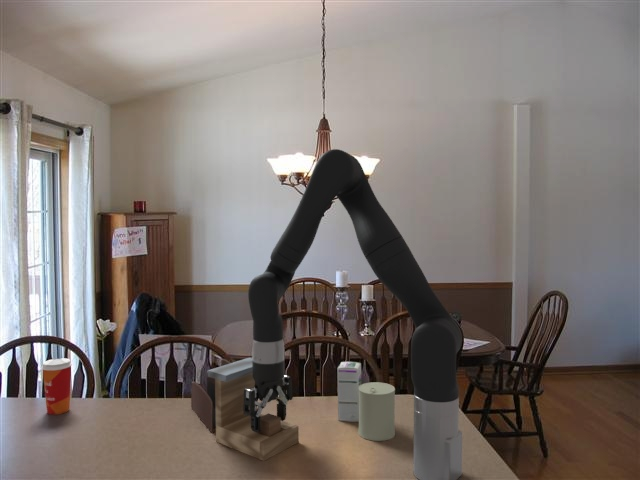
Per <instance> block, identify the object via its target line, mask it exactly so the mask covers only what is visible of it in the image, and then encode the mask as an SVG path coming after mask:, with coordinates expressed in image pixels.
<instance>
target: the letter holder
mask: <svg viewBox="0 0 640 480" xmlns="http://www.w3.org/2000/svg"><path fill="white" fill-rule="evenodd" d="M230 363H232V362H231V361H229V360H228V359H225V358H221V361H220V366H223V365H227V364H230ZM190 389H191V390H190V391H191V392H190V393H191V396H190V397H191V398H190V401H191V402H190V407H191V409H192V411H193V412H194V413H195V414H196V415H197V416H198V418H199V419H200V420H201V421H202V423H203V424H204V425H205V427H206V428H207V430H209V432H210V433H211V434H214V433H215V434H216V405H215V379H214V378H211V377H208V370H207V371H206V390H205V389H204V387H202V386H201V385H200V384H199V383H197V382H196V381H193V380H192V381H191V388H190Z"/></svg>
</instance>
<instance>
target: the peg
mask: <svg viewBox="0 0 640 480" xmlns="http://www.w3.org/2000/svg"><path fill="white" fill-rule="evenodd" d="M260 420H261V431H260V432H258V433H259V434H262V435H265V436H268V437H271V436H273V435H275V434H277V433H279V432H281V417H278V416H277V415H274V414H272V413H270V412H269V413H265V414H264V416H261V417H260Z"/></svg>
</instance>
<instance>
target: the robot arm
mask: <svg viewBox="0 0 640 480" xmlns="http://www.w3.org/2000/svg"><path fill="white" fill-rule="evenodd" d="M336 197H337V198H338V200H339V201H340V203H341V204H342V206H343V207H344V209H345V211H347V214H348V215H349V217H350V220H351V222H352V224H353V229H354V231H355V235H356V239H357V242H358V244H359V246H360V247H359V248H360V250H361V252H362V254H363V256H364V258H365V260H366V261H367V263H368V265H369V266H370V268H371V270H372V271H373V273H374V275H375V276H376V277H377V278H378V280H379V281H380V282H381V283H382V284H383V286H384V287H385V288H386V289H387V290H388V291H389V292H390V293H391V294H392V295H393V296H395V297H396V299H397V300H399V301H400V303H401V304H402V305H403V307H404V308H405V310H406V311H407V313H408V315H409V316H410V318H411V321H412V322H413V324H414V327H415V330H414V331H413V333H412V336H411V342H410V369H411V370H410V371H411V373H410V375H411V381H412V384H413V464H412V465H413V474H414V476H415V478H417V479H418V480H458V479H459V478H460V477H461V476H462V475H463V474H462V472H463V471H462V470H463V468H462V467H463V431H462V430H459V423H460V422H459V416H460V415H459V409H460V408H459V406H460V405H459V402H460V385H459V383H458V379H457V353H458V352H459V351H460V349H461V347H462V342H463V334H462V330H461V329H460V326H459V325H458V324H457V322H456V321H455V319H454V318H453V316H452V315H451V314H450V313H449V311H448V310H447V309H446V307H445V306H444V304H443V303H442V302H441V300H440V299H439V298H438V296H437V294H436V293H435V291H434V290H433V288H432V287H431V285H430V284H429V282H428V279H427V277H426V276H425V274H424V272H423V270H422V268H421V266H420V265H419V263H418V261H417V260H416V257H415V256H414V255H413V252H412V251H411V249H410V247H409V245H408V244H407V242H406V240H405V238H404V237H403V236H402V234H401V232H400V231H399V230H398V228H397V226H396V225H395V223H394V222H393V220H392V218H391V217H390V216H389V215H388V213H387V211H386V210H385V209H384V207H383V206H382V204H381V203H380V202H379V200H378V199H377V196H376V195H375V193H374V191H373V189H372V186H371V184H370V183H369V181H368V177H367V175H366V173H365V171H364V169H363V167H362V164H361V163H360V161H359V160H358V159H357V157H355V156H354V155H351V154H350V153H348V152H346V151H344V150H341V149H336V148H334V149H330V150H327V151H325V152H324V153H322V154H321V156H319V157H318V159H317V161H316V163H315V166H314V168H313V169H312V172H311V175H310V178H309V180H308V182H307V184H306V188H305V190H304V192H303V194H302V197H301V198H300V200H299V203H298V205H297V208H296V210H295V212H294V214H293V215H292V217H291V219H290V221H289V223H288V224H287V226H286V227H285V230H284V231H283V233H282V234H281V236H280V238H279V240H278V241H277V242H276V244H275V245H274V247H273V249H272V252H271V254H270V261H269V263H268V265H267V267H266V268H265V271H264V272H263V273H262V274H260V275H256V276H255V277H254V278H253V279H252V280H251V281H250V284H249V287H248V292H247V297H248V305H249V308H250V309H249V310H250V314H251V318H252V321H253V322H252V347H251V349H252V350H251V354H252V355H251V358H252V376H253V378H254V380H255V386H254V388H252V389H248V388H245V389H244V404H243V413H244V414H245V415H248V416H250V417H251V429H252V431H254V432H257V433H258V432H260V431H261V420H260V414H262V412H263V409H265V408H266V406H267V405H268V403H270V402H271V401H276V416H278V417H281V421H285V420H286V417H287V405H288V402H290V401H292V400H293V397H294V395H293V379H292V376H289V375H286V374H285V371H286V370H285V343H284V321H283V317H282V315H281V314H279V307H278V306H279V305H278V301H279V300H280V299H281V298H282V297H283V296H284V295H285V294H286V292H287V290H288V288H289V287H290V285H291V283H292V280H293V279H294V276H295V273H296V271H297V269H298V268H299V266H300V265H301V263H302V262H303V260H304V259H305V257H306V256H307V254H308V252H309V250H310V249H311V247H312V245H313V242H314V240H315V238H316V235H317V233H318V229H319V227H320V223H321V221H322V219H323V217H324V214H325V212H326V211H327V209H328V207H329V206H330V205H331V203H332V202H333V200H335V198H336ZM249 407H250V408H249ZM256 407H257V411H255V409H256Z"/></svg>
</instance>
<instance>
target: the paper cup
mask: <svg viewBox="0 0 640 480" xmlns="http://www.w3.org/2000/svg"><path fill="white" fill-rule="evenodd" d="M72 365H73V363H72V361H71V359H70V358H66V357H65V358H64V357H61V358H52V359H48V360H45V361H44V362H43V363H42V366H41V370H42V375H43V387H44V398H45V404H46V411H47V413H46V414H49V415H61V414H64V413H67V412H68V411H69V410H70V404H71V403H70V401H71V373H72V372H71V371H72V370H71V369H72Z"/></svg>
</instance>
